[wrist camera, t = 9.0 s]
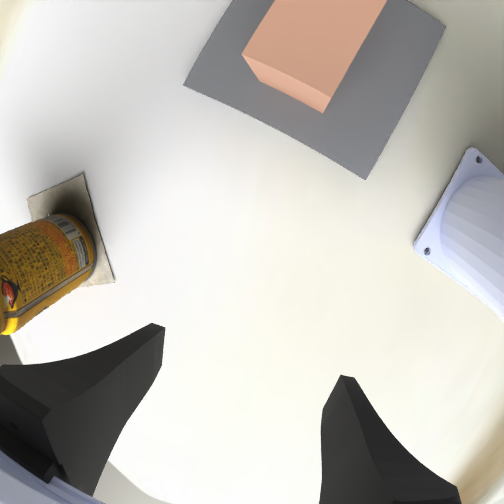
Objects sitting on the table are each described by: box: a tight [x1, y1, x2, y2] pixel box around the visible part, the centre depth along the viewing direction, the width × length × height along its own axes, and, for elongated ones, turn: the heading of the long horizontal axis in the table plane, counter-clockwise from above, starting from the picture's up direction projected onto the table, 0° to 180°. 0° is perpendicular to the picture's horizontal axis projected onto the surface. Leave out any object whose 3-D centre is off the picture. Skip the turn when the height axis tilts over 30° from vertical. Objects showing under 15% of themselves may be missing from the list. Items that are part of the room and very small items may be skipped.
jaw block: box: [242, 0, 387, 113], centre depth 12 cm, size 4×8×6 cm, turn 152°
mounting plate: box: [183, 0, 446, 180], centre depth 15 cm, size 12×12×1 cm
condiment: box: [0, 175, 115, 335], centre depth 17 cm, size 7×8×12 cm
